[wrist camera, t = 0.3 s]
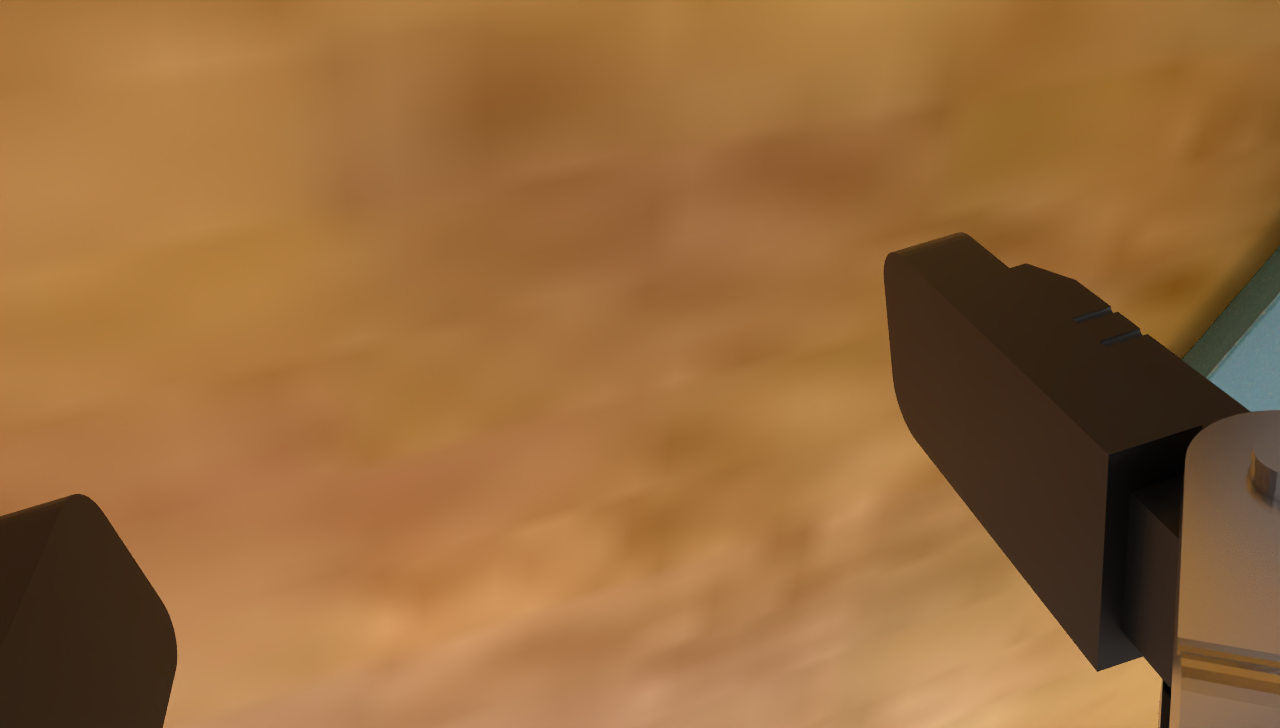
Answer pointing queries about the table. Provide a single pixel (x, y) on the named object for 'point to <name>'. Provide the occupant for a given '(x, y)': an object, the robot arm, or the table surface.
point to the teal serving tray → (1246, 343)
